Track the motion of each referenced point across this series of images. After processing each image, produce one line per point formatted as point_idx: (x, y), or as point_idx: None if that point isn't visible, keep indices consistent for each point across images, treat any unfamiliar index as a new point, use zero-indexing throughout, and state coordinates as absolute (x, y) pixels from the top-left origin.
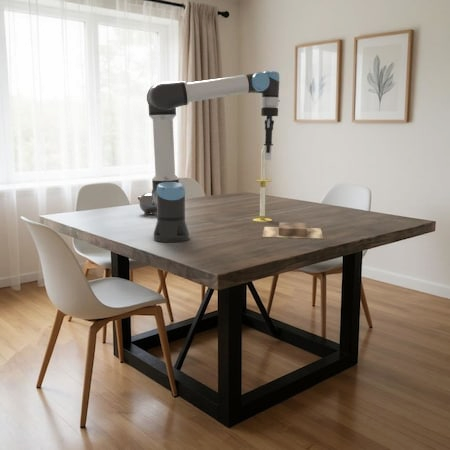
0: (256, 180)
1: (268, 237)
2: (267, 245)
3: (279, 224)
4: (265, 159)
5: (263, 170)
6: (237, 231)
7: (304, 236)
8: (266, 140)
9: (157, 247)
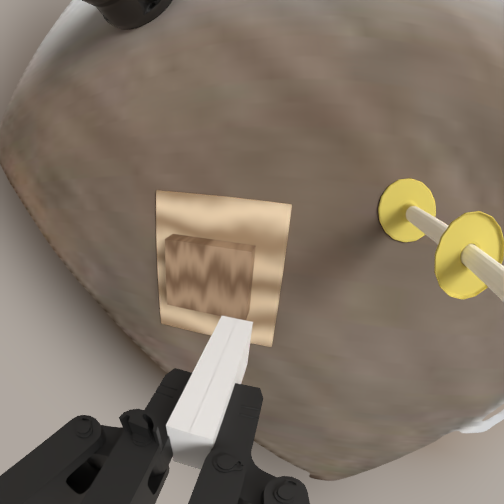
0: (489, 224)
1: (156, 206)
2: (93, 201)
3: (217, 247)
4: (219, 322)
5: (490, 280)
6: (227, 120)
7: None
8: (52, 445)
9: (81, 10)
